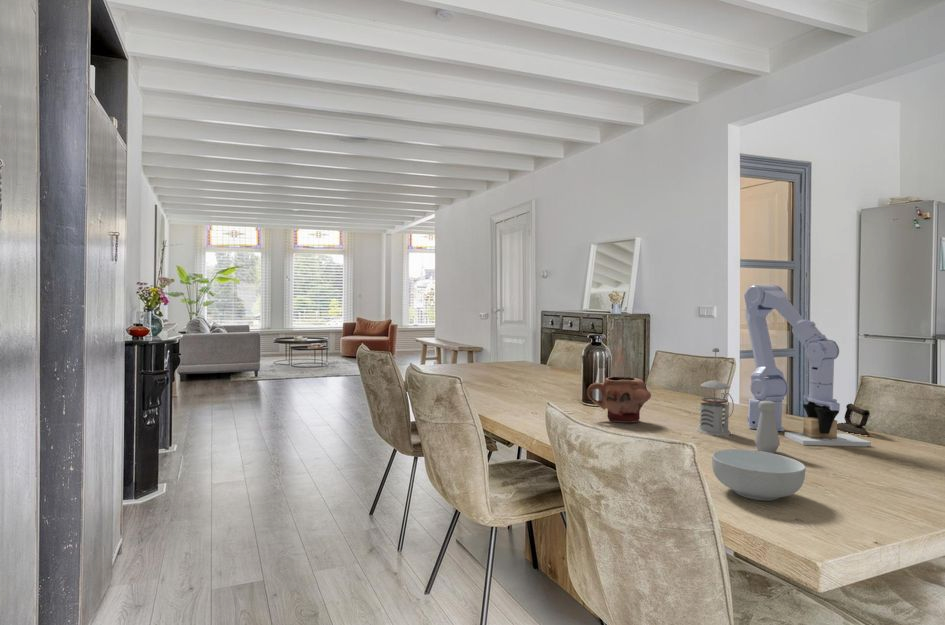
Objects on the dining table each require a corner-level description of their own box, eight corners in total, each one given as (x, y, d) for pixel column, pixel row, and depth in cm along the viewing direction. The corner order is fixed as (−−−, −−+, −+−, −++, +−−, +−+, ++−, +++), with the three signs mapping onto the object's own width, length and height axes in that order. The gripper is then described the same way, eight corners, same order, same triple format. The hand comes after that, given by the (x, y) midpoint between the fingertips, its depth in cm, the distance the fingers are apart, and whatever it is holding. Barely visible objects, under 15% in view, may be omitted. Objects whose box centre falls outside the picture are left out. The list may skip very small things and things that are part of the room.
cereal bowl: (761, 514, 106) (762, 475, 106) (693, 486, 121) (693, 452, 121) (824, 502, 113) (825, 466, 112) (752, 477, 128) (753, 445, 128)
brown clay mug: (589, 423, 182) (590, 379, 182) (584, 416, 194) (584, 374, 194) (654, 425, 181) (655, 380, 181) (644, 417, 193) (645, 375, 193)
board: (802, 444, 159) (802, 440, 159) (784, 436, 169) (784, 432, 169) (870, 446, 158) (870, 442, 158) (848, 437, 168) (848, 433, 168)
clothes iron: (855, 430, 182) (864, 400, 179) (876, 447, 171) (885, 416, 168) (832, 427, 182) (840, 397, 180) (851, 444, 171) (860, 413, 169)
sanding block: (810, 438, 162) (811, 420, 162) (803, 434, 166) (803, 417, 166) (836, 438, 161) (837, 420, 161) (828, 435, 165) (828, 417, 165)
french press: (715, 427, 179) (717, 346, 179) (744, 436, 168) (746, 349, 168) (688, 429, 176) (690, 346, 176) (716, 438, 165) (718, 350, 165)
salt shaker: (778, 450, 152) (780, 400, 152) (780, 455, 147) (781, 404, 147) (754, 447, 155) (755, 398, 155) (754, 452, 150) (755, 402, 149)
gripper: (851, 387, 156) (850, 438, 156) (821, 379, 170) (819, 426, 171) (825, 386, 156) (823, 437, 156) (796, 379, 171) (795, 425, 171)
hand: (819, 431), depth 163 cm, fingers closed on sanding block, 4 cm apart
